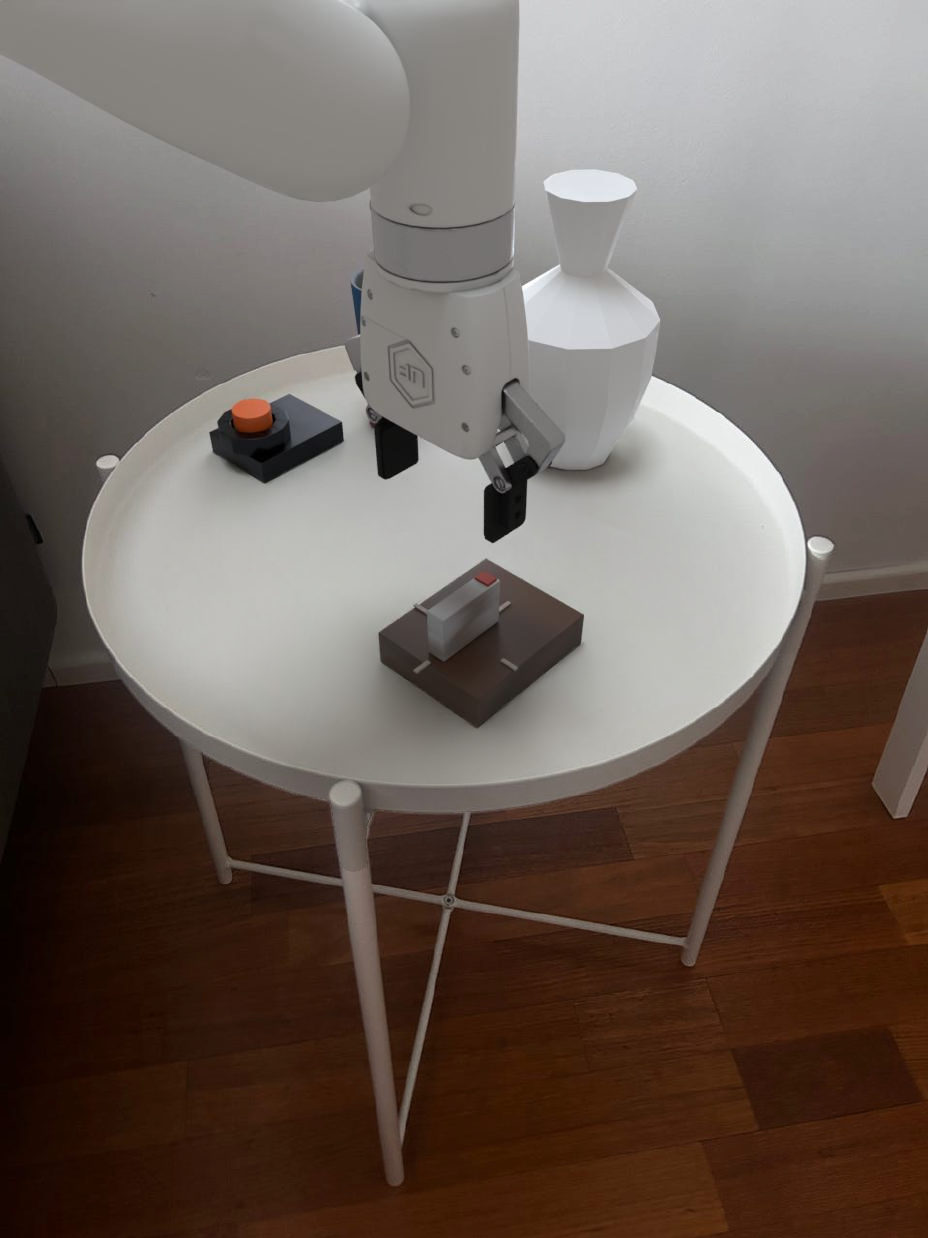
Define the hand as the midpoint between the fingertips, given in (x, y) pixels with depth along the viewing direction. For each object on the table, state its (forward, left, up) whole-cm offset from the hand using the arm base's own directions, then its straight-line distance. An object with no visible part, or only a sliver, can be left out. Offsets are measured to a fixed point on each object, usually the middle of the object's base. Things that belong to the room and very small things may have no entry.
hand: (449, 499), depth 65 cm
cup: (+22, +29, -16) cm, 40 cm away
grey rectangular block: (+1, 0, -13) cm, 13 cm away
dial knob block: (+3, 0, -16) cm, 16 cm away
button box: (+11, +34, -16) cm, 39 cm away
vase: (+30, +13, -16) cm, 37 cm away
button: (+9, +34, -12) cm, 37 cm away
